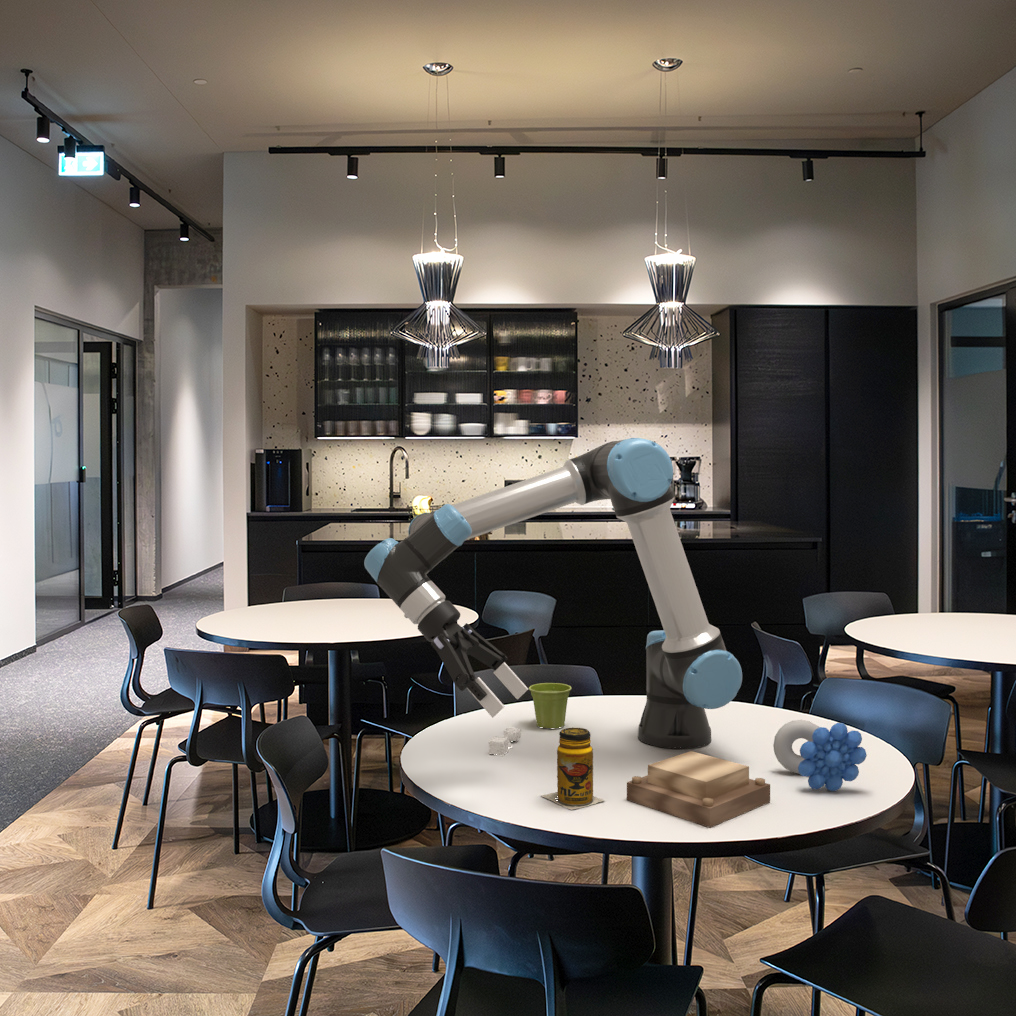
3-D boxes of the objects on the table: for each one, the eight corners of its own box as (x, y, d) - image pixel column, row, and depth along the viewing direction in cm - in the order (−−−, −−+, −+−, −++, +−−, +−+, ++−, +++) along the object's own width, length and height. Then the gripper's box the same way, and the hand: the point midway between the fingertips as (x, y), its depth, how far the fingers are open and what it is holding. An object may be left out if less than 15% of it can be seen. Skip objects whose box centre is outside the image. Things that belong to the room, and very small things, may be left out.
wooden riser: (626, 799, 155) (626, 764, 155) (688, 778, 167) (688, 745, 167) (709, 827, 143) (709, 789, 143) (770, 802, 154) (770, 766, 154)
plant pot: (540, 733, 197) (540, 693, 196) (522, 723, 205) (522, 684, 205) (578, 729, 200) (578, 689, 200) (559, 719, 209) (559, 681, 209)
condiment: (571, 811, 150) (571, 738, 150) (540, 796, 157) (540, 727, 157) (605, 802, 155) (605, 731, 154) (573, 788, 161) (573, 721, 161)
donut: (828, 772, 170) (828, 718, 170) (831, 778, 166) (831, 723, 166) (772, 769, 172) (772, 716, 171) (774, 775, 168) (774, 721, 168)
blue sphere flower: (857, 783, 163) (858, 716, 163) (870, 796, 157) (871, 726, 156) (791, 782, 164) (792, 716, 164) (801, 795, 157) (802, 726, 157)
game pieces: (504, 758, 180) (503, 742, 180) (488, 756, 181) (488, 740, 181) (522, 741, 192) (522, 725, 192) (507, 739, 193) (507, 724, 193)
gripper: (444, 617, 176) (518, 700, 172) (387, 637, 152) (471, 735, 148) (470, 590, 174) (545, 674, 170) (416, 607, 150) (503, 705, 146)
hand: (511, 703), depth 159 cm, fingers open, 13 cm apart
